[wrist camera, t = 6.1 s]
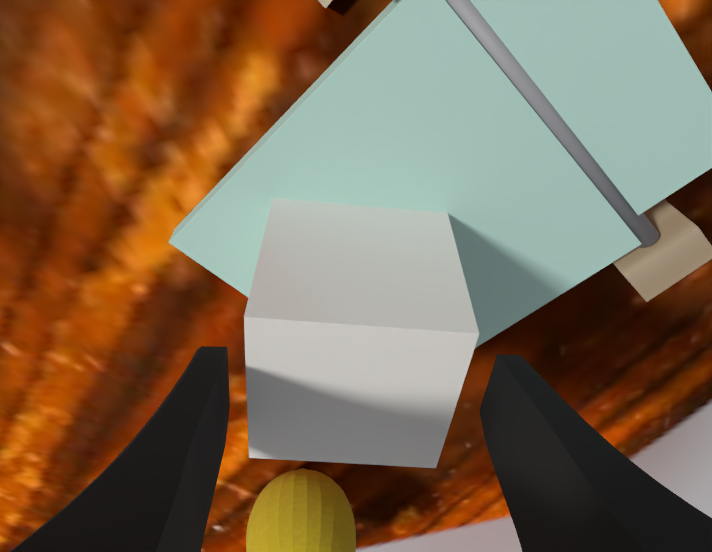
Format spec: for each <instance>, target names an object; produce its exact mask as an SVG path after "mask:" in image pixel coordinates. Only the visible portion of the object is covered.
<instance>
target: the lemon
mask: <svg viewBox="0 0 712 552" xmlns="http://www.w3.org/2000/svg"><path fill="white" fill-rule="evenodd" d="M355 548H356V534H355V522H354V516H353V512H352V509H351V506H350V503H349V501H348V499H347V497H346V495H345V494H344V492H343V490H342V489H341V488H340V486H339V485H338V484H337V483H335V482H334V481H333V480H332V479H331V478H330V477H328V476H326V475H325V474H323V473H321V472H318V471H314V470H308V469H305V468H300V469H298V470H293V471H288V472H286V473H283V474H281V475H280V476H278V477H277V478H275V479H274V480H272V481H271V482H270V483H269V484H268V485H267V486H266V487H265V488H264V489H263V490H262V492H261V493H260V494H259V496H258V498H257V500H256V502H255V504H254V507H253V509H252V512H251V515H250V518H249V522H248V526H247V534H246V552H355Z"/></svg>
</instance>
